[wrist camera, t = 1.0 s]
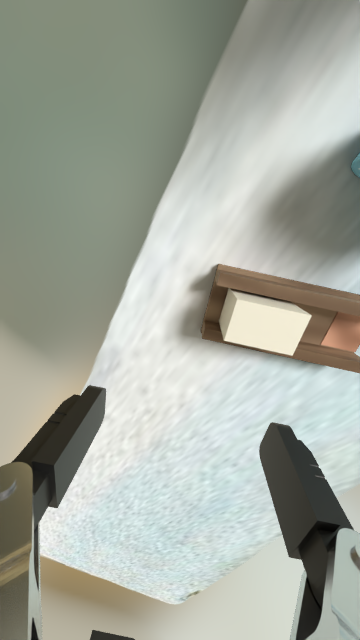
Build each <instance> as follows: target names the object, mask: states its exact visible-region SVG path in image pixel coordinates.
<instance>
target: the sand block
mask: <svg viewBox="0 0 360 640" xmlns="http://www.w3.org/2000/svg"><path fill="white" fill-rule="evenodd" d="M311 316H312V315H310V314H309V313H307V312H306V311H304V310H302V309H301V308H299V307H298V306H296V305H295V304H293V303H292V302H290V301H287V300H283V299H278V298H273V297H269V296H264V295H260V294H255V293H251V292H246V291H241V290H237V289H232V288H229V289H228V292H227V296H226V299H225V302H224V306H223V309H222V312H221V316H220V319H219V324H220V328H221V331H222V335H223V339H224V341H228V342H232V343H237V344H241V345H246V346H250V347H255V348H260V349H264V350H269V351H273V352H278V353H282V354H287V355H291V356H293V354H294V352H295V349H296V347H297V345H298V343H299V341H300V339H301V337H302V335H303V333H304V331H305V329H306V327H307V325H308V322H309V320H310V318H311Z"/></svg>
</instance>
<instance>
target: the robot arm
mask: <svg viewBox="0 0 360 640" xmlns="http://www.w3.org/2000/svg"><path fill="white" fill-rule="evenodd" d="M105 400H106V389H105V388H101V387H96V386H91V385H89V386H88V387H87V388H86V390H85V391H84V392H83V393H82V395H81V396H80V395H73V396H71V397H70V398H68V399H67V400H65V401H64V402H63V403H62V404H61V405H60V406H59V407H58V409H57V410H56V411H55V413H54V414H52V416H51V417H50V418H49V419H48V421H47V422H46V423H45V424H44V425H43V426H42V428H41V429H40V430H39V431H38V432H37V434H36V435H35V436H34V437H33V438H32V440H31V441H30V442H29V443H28V444H27V446H26V447H25V448H24V449H23V450H22V451H21V453H20V454H19V455H18V456H17V457H16V458H15V459H14V461H12V462H11V463H9V464H6V465H3V466H1V467H0V640H42V615H41V599H40V533H39V521H40V520H41V518H42V516H43V514H44V513H45V511H46V509H47V507H48V506H49V507H54V508H58V506H59V504H60V502H61V500H62V499H63V497H64V495H65V493H66V491H67V489H68V487H69V485H70V483H71V481H72V479H73V478H74V476H75V474H76V472H77V470H78V468H79V466H80V464H81V462H82V460H83V458H84V457H85V455H86V453H87V451H88V449H89V447H90V445H91V443H92V441H93V439H94V437H95V436H96V434H97V432H98V430H99V428H100V426H101V424H102V421H103V418H104V414H105ZM259 452H260V459H261V463H262V466H263V470H264V473H265V477H266V480H267V483H268V487H269V490H270V494H271V497H272V500H273V504H274V507H275V511H276V514H277V517H278V521H279V524H280V528H281V531H282V535H283V538H284V541H285V545H286V548H287V552H288V555H289V557H291V558H296V559H301V560H302V562H303V565H304V568H305V570H304V572H303V574H302V579H301V583H300V589H299V594H298V599H297V605H296V609H295V615H294V620H293V625H292V630H291V635H290V640H360V534H359V533H358V532H356V531H354V529H353V527H352V526H351V524H350V522H349V520H348V519H347V517H346V515H345V513H344V511H343V509H342V508H341V506H340V504H339V502H338V500H337V498H336V497H335V495H334V493H333V491H332V489H331V487H330V486H329V484H328V482H327V480H326V479H325V478H324V477H325V476H324V475H323V473H322V471H321V469H320V468H319V467H318V466H319V465H318V464H317V462H316V460H315V458H314V456H313V454H312V453H311V451H310V450H309V449H308V448H307V447H306V446H305V445H304V443H303V442H302V441H301V440H297V438H296V436H295V434H294V432H293V430H292V429H291V427H290V426H288V425H283V424H278V423H273V422H272V423H270V425H269V427H268V429H267V431H266V433H265V435H264V438H263V440H262V442H261V444H260V450H259ZM90 640H135V639H133V638H128V637H124V636H119V635H115V634H110V633H104V632H100V631H95V630H92V634H91V638H90Z"/></svg>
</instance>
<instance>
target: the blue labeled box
mask: <svg viewBox="0 0 360 640" xmlns="http://www.w3.org/2000/svg"><path fill="white" fill-rule="evenodd" d="M351 168H352V171H353V172H354V174H356V175H357V176H358V177H359V178H360V153H359V154H358V155H357V157H356V158H355V159H354V161H353V162H352V165H351Z"/></svg>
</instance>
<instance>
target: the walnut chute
mask: <svg viewBox="0 0 360 640" xmlns="http://www.w3.org/2000/svg"><path fill="white" fill-rule="evenodd" d="M229 288H232V289H237V290H241V291H246V292H251V293H255V294H260V295H264V296H269V297H273V298H278V299H283V300H287V301H290V302H292V303H293V304H295V305H296V306H298V307H299V308H301V309H302V310H304V311H306V312H307V313H309V314H310V315H312V316H311V318H310V320H309V322H308V325H307V327H306V329H305V331H304V333H303V335H302V337H301V339H300V341H299V343H298V345H297V347H296V349H295V352H294V354H293V356H291V355H287V354H282V353H278V352H273V351H269V350H264V349H260V348H255V347H250V346H246V345H241V344H237V343H232V342H228V341H224V339H223V335H222V331H221V328H220V324H219V319H220V316H221V312H222V309H223V306H224V302H225V299H226V296H227V292H228V289H229ZM201 333H202V339H207V340H211V341H216V342H220V343H225V344H229V345H234V346H239V347H243V348H248V349H252V350H257V351H261V352H266V353H270V354H275V355H280V356H284V357H289V358H293V359H298V360H302V361H307V362H311V363H316V364H320V365H325V366H330V367H334V368H339V369H343V370H348V371H352V372H357V373H360V357H359V356H358V355H356V354H355V353H354V352H356V350H357V348H358V347H359V345H360V295H358V294H354V293H349V292H345V291H340V290H336V289H331V288H326V287H322V286H317V285H313V284H308V283H304V282H299V281H294V280H290V279H285V278H281V277H276V276H272V275H267V274H263V273H258V272H253V271H249V270H244V269H240V268H235V267H231V266H226V265H221V264H218V267H217V271H216V275H215V278H214V282H213V286H212V290H211V293H210V297H209V301H208V305H207V309H206V312H205V316H204V320H203V324H202V327H201Z"/></svg>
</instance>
